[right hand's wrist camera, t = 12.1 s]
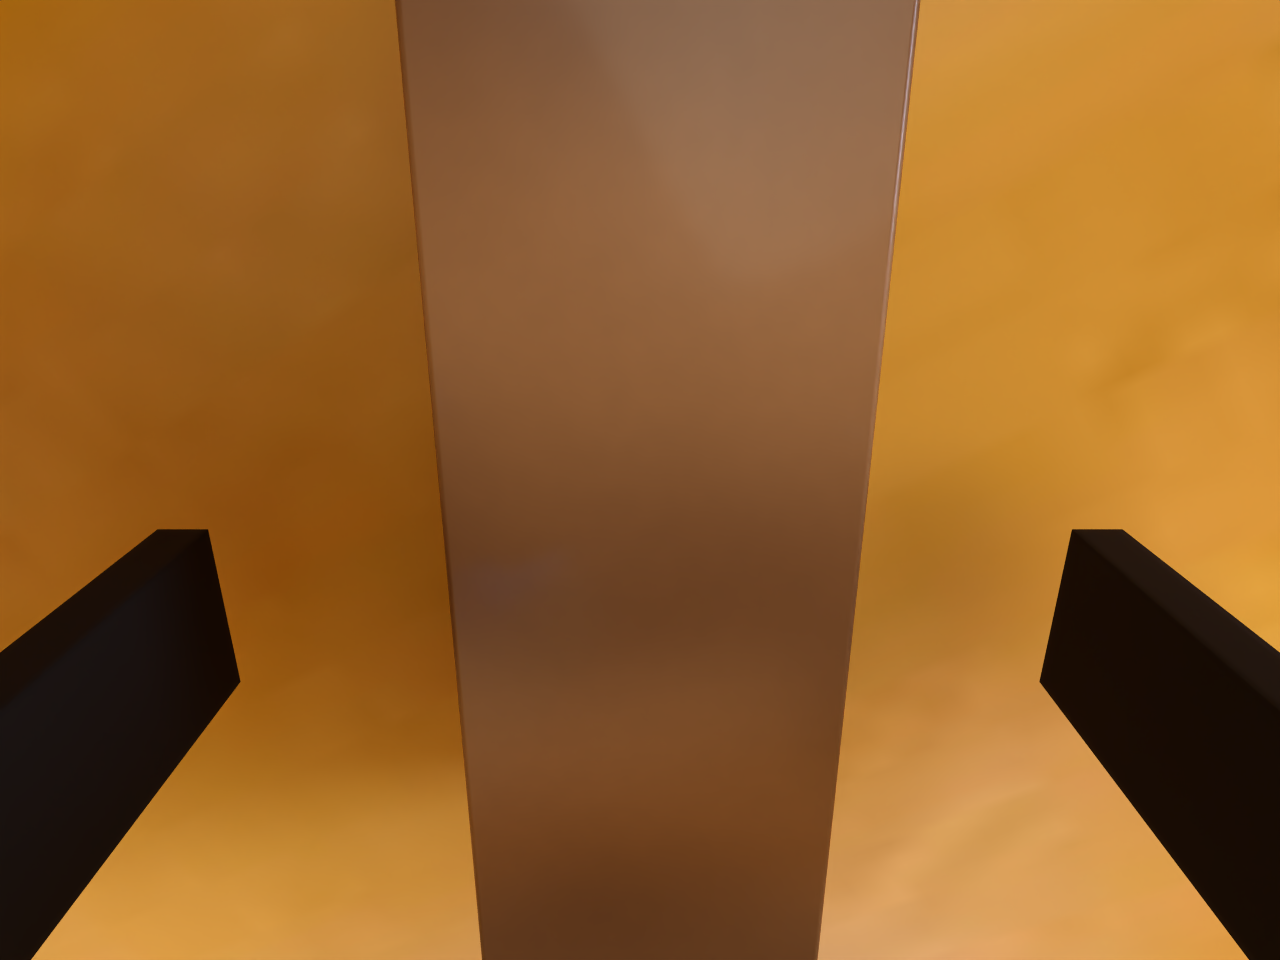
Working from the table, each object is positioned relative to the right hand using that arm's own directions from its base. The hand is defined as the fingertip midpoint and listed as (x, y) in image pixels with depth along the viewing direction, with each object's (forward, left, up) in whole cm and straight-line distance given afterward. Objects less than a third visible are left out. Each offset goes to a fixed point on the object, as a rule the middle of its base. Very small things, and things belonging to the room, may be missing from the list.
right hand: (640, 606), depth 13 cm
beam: (+17, +28, -5) cm, 33 cm away
